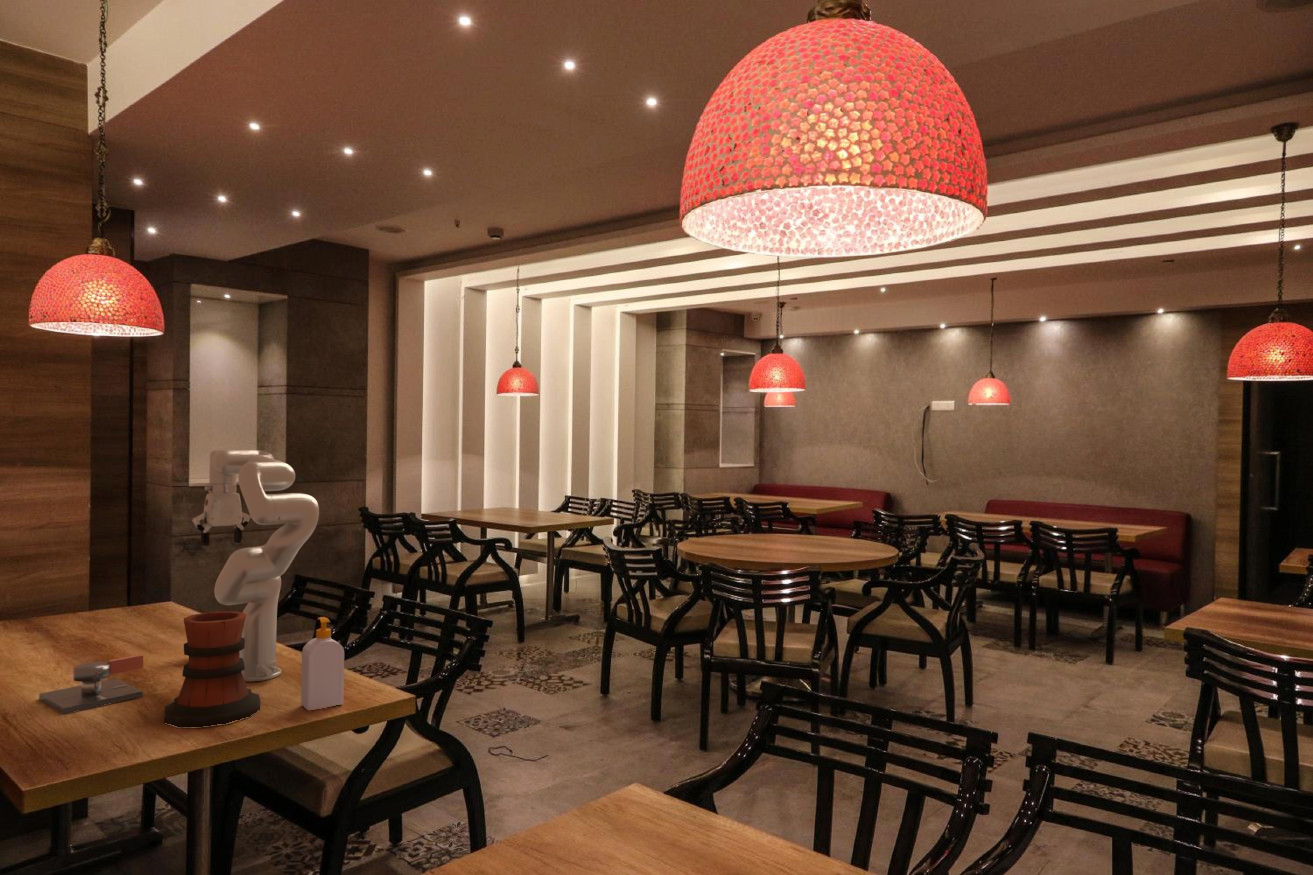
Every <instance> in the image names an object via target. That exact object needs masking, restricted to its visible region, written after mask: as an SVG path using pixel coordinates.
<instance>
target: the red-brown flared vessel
mask: <svg viewBox="0 0 1313 875" xmlns="http://www.w3.org/2000/svg"><path fill="white" fill-rule="evenodd" d="M245 619H246V614H245V613H243V611H242V612H241V611H235V610H234V611H233V610H227V611H226V610H224V611H223V610H220V611H210V612H202V613H195V614H191V615H188V616H186V617H184V618H183V626H184V629H185V630H184V631H185V635H186V636H185V637H186V640H187V642H185V643H183V656H188V662H187V663H185V664H183V669H182V677H183V678H184V679H183V684H182V685H181V689H180V691H179V693H178V696H176V698H173V701H172V702H171V703H169V704H167V705H165V706H164V714H163V715H164V720H163V722H164V723H167V724H171V725H174V726H177V727H203V726H211V725H217V724H226V723H229V722H232V721H235V720H240V719H242V718H246V717H250V716H251V715H252V714H254V713H256V712H257V711H258V710H260V711H261V697H260V695H259V694H258V693H255V692H252V688H248V687H247V684H246V681H244V678H243V675H242V672H241V671H243V670H245V666H244V660H243V659H242V658H240V650H242V649H244V646H245V639H244V638H242V632H243V628H244V623H245ZM257 713H258V712H257ZM257 713H256V714H257ZM254 715H255V714H254ZM251 717H252V716H251ZM251 717H250V718H251ZM167 724H166V725H167Z"/></svg>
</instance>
